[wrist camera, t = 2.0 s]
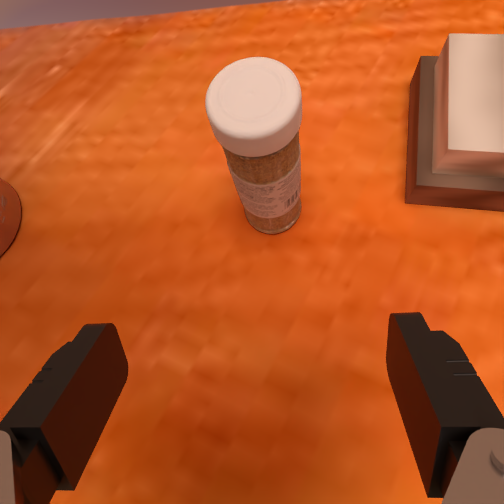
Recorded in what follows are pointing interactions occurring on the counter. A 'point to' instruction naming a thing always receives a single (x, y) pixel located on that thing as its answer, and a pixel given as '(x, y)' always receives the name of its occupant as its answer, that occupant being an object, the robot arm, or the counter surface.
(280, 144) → the sprinkles bottle
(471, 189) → the stand
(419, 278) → the counter surface
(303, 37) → the counter surface
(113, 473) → the counter surface
